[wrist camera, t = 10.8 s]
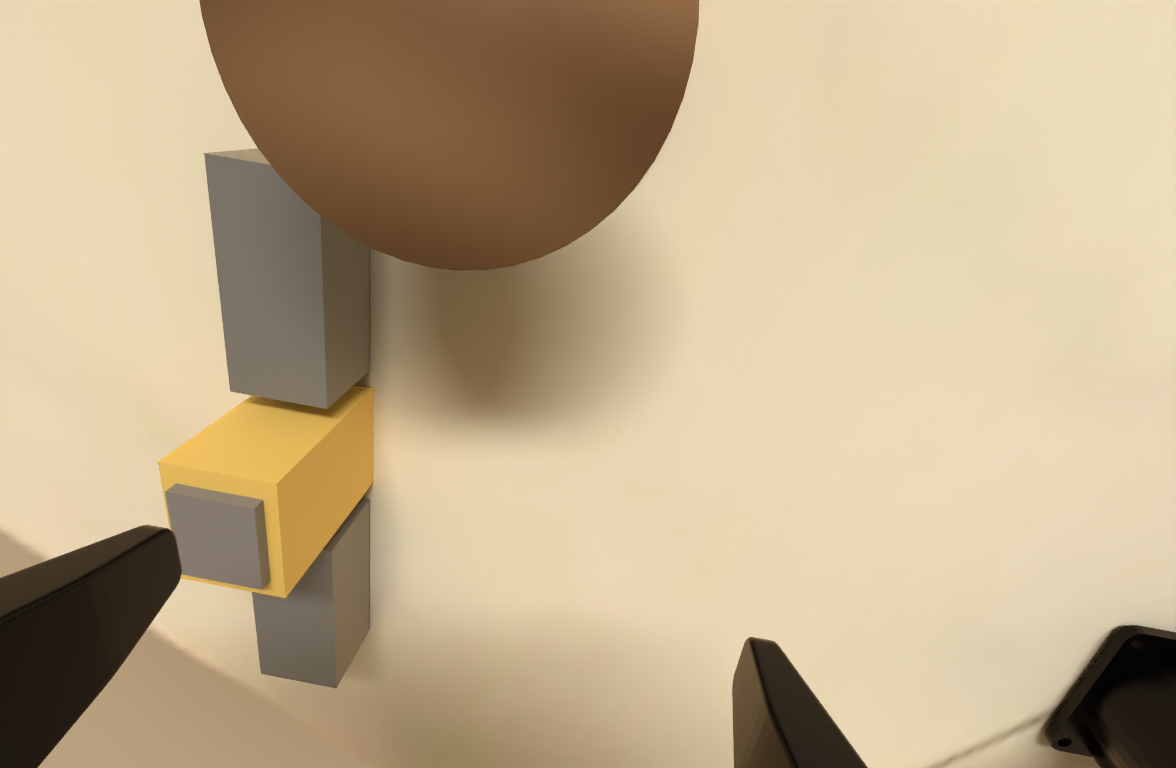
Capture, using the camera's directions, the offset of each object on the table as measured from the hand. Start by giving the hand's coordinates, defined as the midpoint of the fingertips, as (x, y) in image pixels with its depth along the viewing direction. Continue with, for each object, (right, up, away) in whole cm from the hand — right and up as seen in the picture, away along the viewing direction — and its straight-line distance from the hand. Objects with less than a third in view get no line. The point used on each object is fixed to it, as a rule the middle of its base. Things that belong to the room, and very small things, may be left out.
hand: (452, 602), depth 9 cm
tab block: (-7, +2, +13) cm, 15 cm away
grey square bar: (-7, +2, +13) cm, 15 cm away
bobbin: (0, +12, +7) cm, 14 cm away
